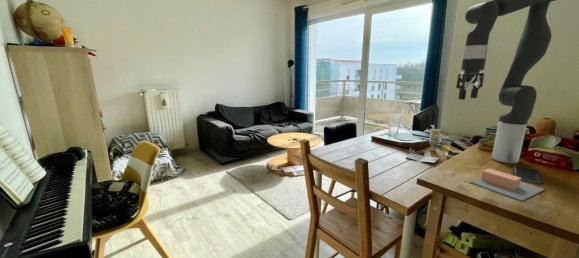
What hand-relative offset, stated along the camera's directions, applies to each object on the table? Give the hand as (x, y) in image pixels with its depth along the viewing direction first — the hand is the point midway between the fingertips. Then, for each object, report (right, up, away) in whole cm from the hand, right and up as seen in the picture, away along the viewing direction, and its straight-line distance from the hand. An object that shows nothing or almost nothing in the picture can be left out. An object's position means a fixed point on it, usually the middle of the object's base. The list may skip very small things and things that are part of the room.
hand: (467, 98), depth 103 cm
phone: (+18, -31, -6) cm, 36 cm away
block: (+4, -31, -18) cm, 36 cm away
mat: (+3, -33, -15) cm, 36 cm away
